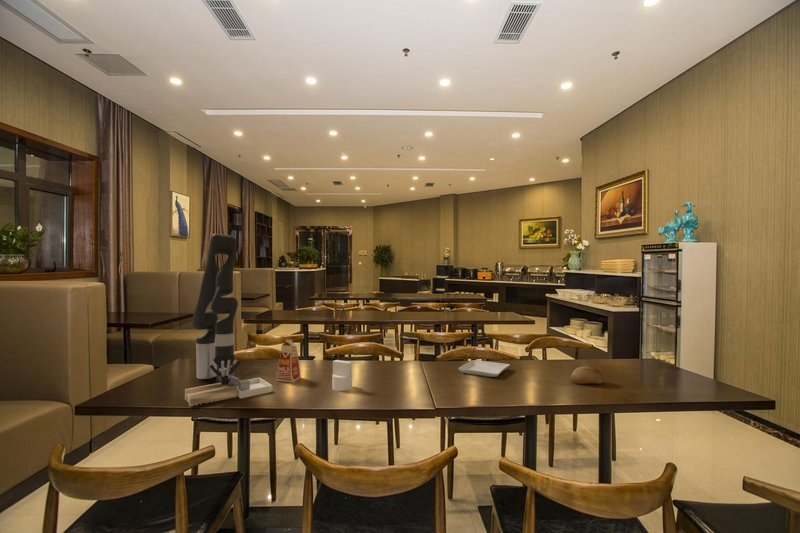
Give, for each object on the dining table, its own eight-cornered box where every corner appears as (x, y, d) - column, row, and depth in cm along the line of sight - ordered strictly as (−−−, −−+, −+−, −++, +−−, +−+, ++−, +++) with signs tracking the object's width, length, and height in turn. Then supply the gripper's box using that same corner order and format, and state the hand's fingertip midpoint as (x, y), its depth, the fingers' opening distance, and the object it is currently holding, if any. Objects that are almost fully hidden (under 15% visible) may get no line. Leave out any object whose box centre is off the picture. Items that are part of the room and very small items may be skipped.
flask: (235, 384, 189) (235, 362, 189) (231, 386, 186) (230, 363, 186) (218, 383, 191) (218, 360, 191) (214, 385, 188) (214, 362, 188)
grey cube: (224, 383, 175) (228, 374, 176) (233, 386, 177) (237, 377, 178) (227, 386, 172) (231, 376, 173) (236, 388, 174) (240, 379, 175)
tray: (228, 389, 182) (228, 383, 182) (259, 383, 191) (259, 377, 191) (240, 398, 170) (240, 391, 169) (272, 391, 178) (272, 385, 178)
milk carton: (293, 382, 192) (292, 340, 192) (275, 381, 194) (275, 339, 194) (301, 376, 201) (301, 336, 201) (284, 375, 203) (284, 336, 203)
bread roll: (608, 386, 184) (608, 369, 184) (576, 386, 185) (576, 369, 184) (598, 380, 194) (598, 364, 194) (567, 380, 194) (567, 364, 194)
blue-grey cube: (237, 380, 178) (246, 379, 181) (237, 389, 178) (246, 388, 181) (240, 383, 175) (249, 381, 178) (240, 392, 175) (249, 390, 178)
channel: (184, 399, 168) (184, 389, 168) (229, 391, 179) (229, 381, 179) (190, 406, 160) (190, 395, 160) (237, 396, 172) (236, 386, 172)
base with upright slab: (356, 386, 185) (356, 360, 185) (344, 392, 178) (344, 364, 177) (340, 383, 190) (340, 358, 190) (328, 389, 182) (328, 362, 182)
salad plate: (457, 374, 206) (457, 367, 206) (472, 365, 225) (472, 359, 224) (497, 380, 195) (497, 373, 195) (510, 370, 213) (510, 364, 213)
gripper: (237, 341, 180) (237, 380, 180) (205, 344, 172) (205, 385, 172) (243, 343, 174) (242, 383, 174) (210, 347, 166) (210, 389, 166)
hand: (224, 384), depth 173 cm, fingers closed
